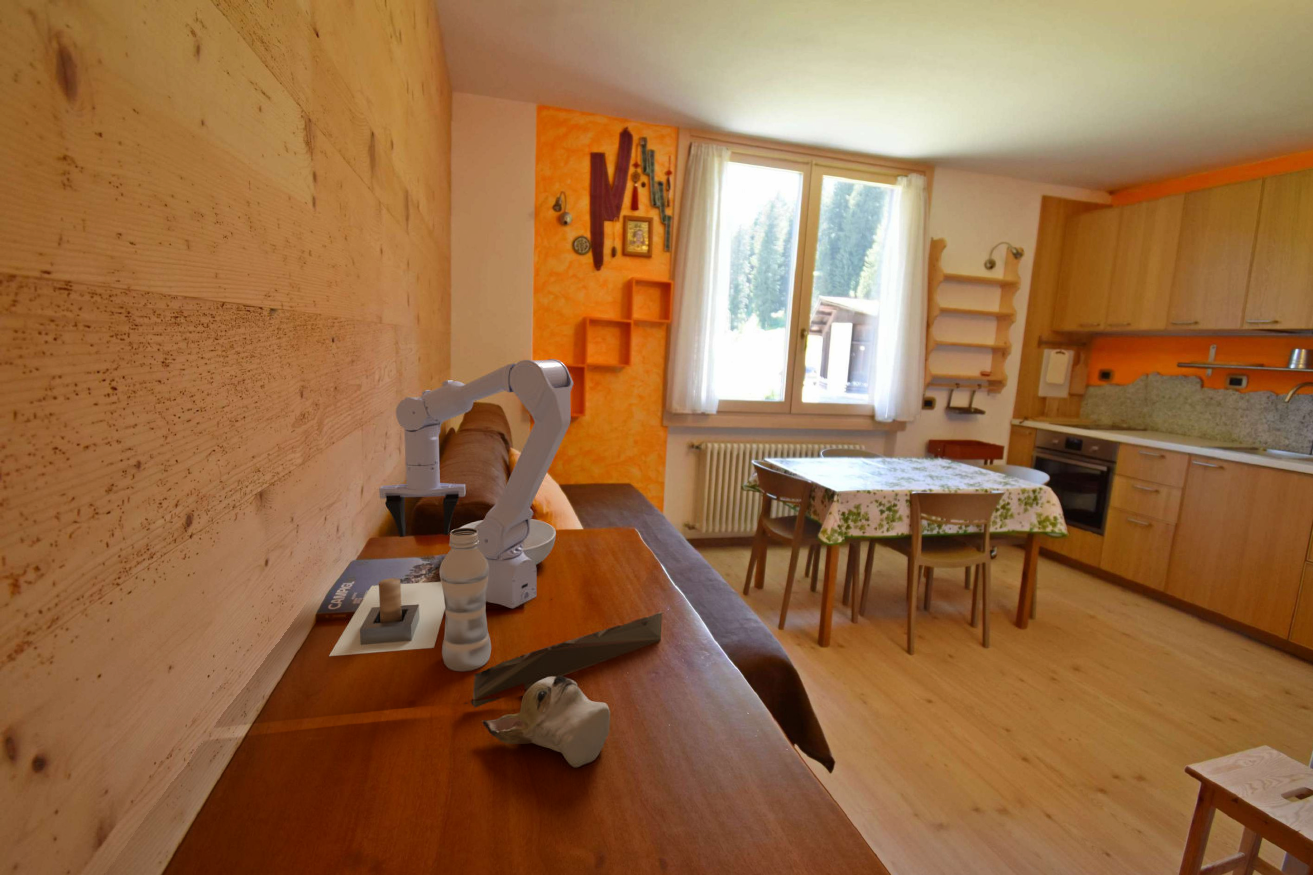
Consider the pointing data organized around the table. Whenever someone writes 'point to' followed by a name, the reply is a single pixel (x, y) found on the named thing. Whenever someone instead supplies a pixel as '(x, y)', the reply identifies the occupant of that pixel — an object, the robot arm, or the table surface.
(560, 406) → the robot arm
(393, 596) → the oak dowel
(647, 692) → the table surface
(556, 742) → the ceramic sculpture
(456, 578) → the plastic bottle
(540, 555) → the serving bowl
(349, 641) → the cream board
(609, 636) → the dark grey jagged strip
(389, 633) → the grey square tray
